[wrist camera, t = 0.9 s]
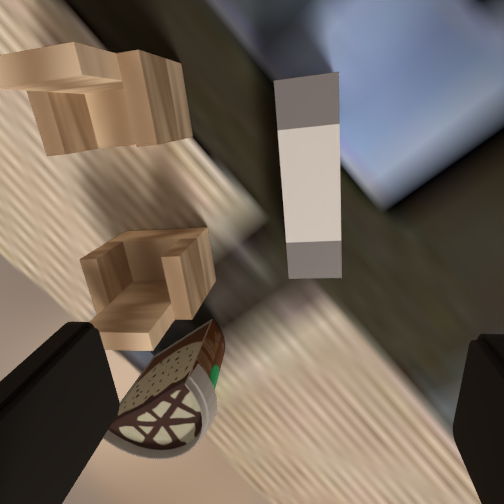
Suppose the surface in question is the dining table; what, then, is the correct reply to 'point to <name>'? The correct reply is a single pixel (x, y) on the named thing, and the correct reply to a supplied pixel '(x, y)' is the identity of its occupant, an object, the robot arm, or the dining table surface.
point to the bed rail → (310, 173)
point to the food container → (172, 398)
